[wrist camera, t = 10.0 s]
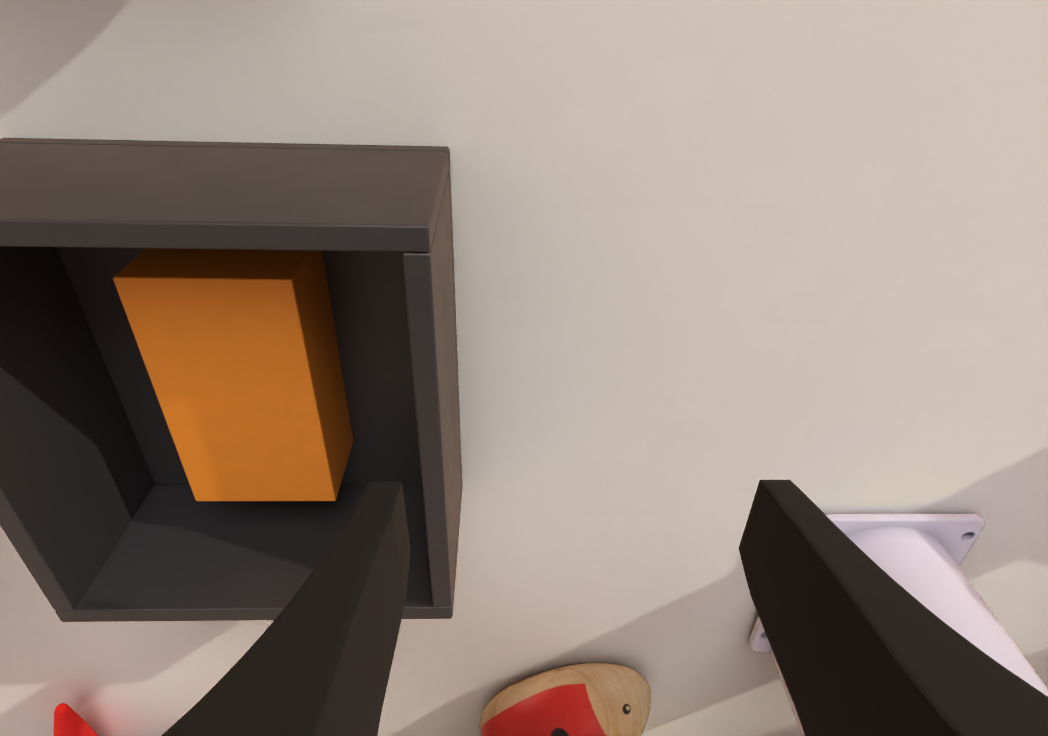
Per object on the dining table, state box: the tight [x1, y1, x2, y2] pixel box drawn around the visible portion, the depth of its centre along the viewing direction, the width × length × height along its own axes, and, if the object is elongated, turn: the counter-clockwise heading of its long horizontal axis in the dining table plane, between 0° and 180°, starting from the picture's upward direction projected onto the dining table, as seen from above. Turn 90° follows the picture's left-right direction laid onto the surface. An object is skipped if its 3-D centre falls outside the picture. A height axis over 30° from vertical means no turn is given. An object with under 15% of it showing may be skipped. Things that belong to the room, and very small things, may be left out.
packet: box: [113, 248, 353, 501], centre depth 19 cm, size 4×8×3 cm, turn 178°
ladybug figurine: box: [480, 663, 651, 736], centre depth 33 cm, size 7×10×4 cm
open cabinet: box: [0, 138, 462, 622], centre depth 19 cm, size 13×12×6 cm
